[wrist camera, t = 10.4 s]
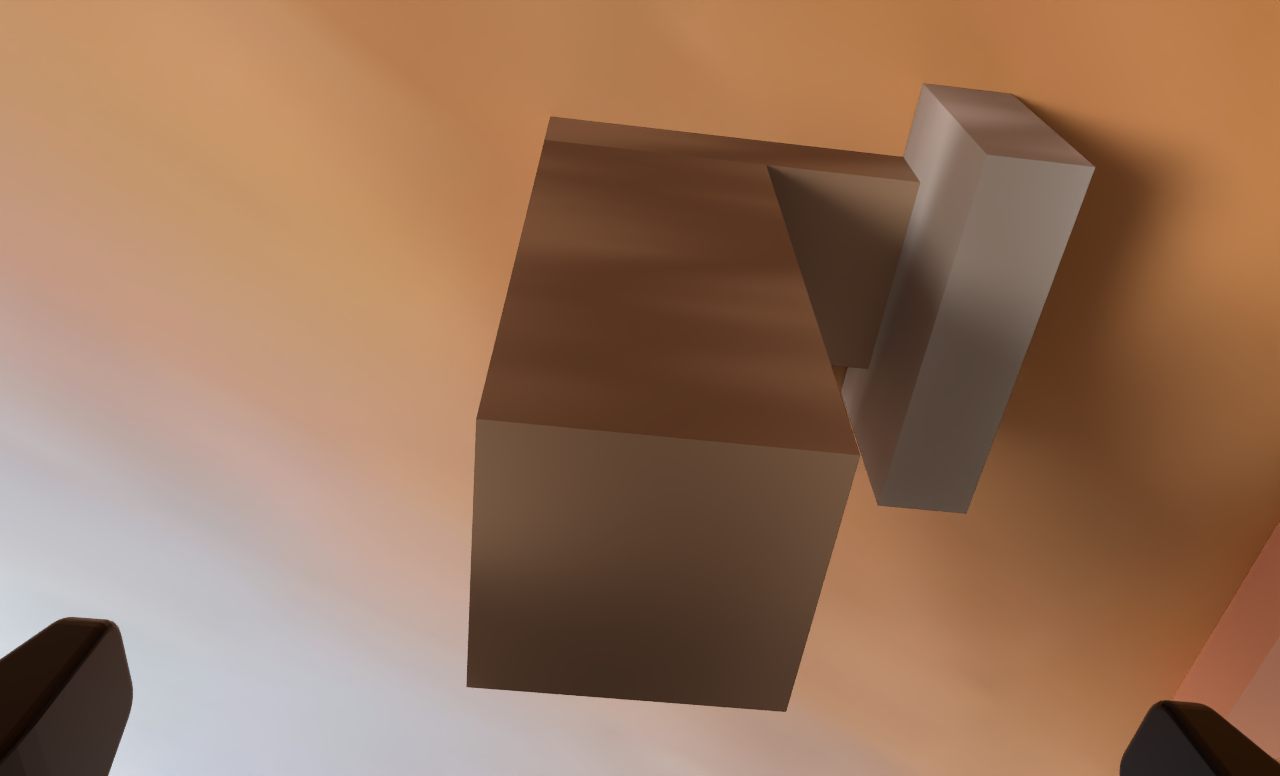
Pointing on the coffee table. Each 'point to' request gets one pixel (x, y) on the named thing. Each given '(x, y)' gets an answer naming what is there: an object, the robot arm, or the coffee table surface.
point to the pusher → (741, 384)
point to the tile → (1245, 656)
